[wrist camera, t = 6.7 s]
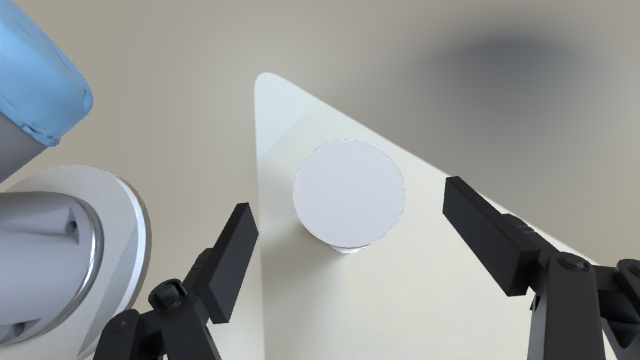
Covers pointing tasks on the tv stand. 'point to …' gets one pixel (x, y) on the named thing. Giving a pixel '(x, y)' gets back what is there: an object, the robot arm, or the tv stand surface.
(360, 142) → the tube
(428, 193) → the tv stand surface
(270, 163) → the tv stand surface
